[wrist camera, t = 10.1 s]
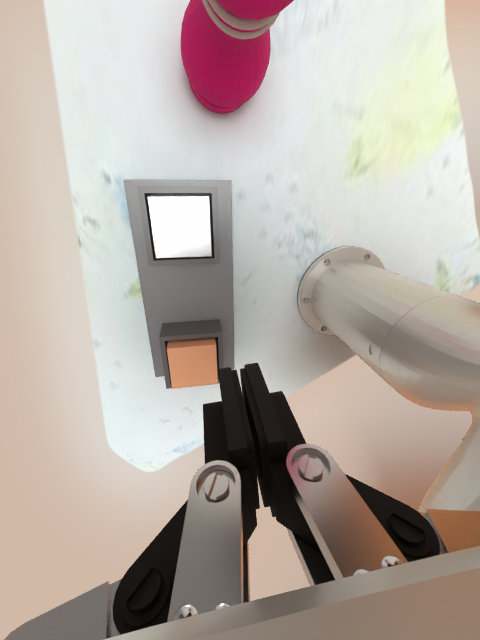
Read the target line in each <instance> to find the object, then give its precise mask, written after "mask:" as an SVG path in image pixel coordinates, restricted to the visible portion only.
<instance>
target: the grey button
mask: <svg viewBox="0 0 480 640" xmlns="http://www.w3.org/2000/svg"><path fill="white" fill-rule="evenodd" d="M148 202H149V210H150V217H151V225H152V232H153V240H154V247H155V255H156V258H175V257H203V256H212V254H211V233H210V212H209V197H148Z"/></svg>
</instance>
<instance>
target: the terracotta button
mask: <svg viewBox="0 0 480 640" xmlns="http://www.w3.org/2000/svg"><path fill="white" fill-rule="evenodd" d="M167 354H168V361H169V369H170V376H171V384H172V389H173V388H182V387H192V386H201V385H211V384H218V375H217V354H216V341H215V337H210V338H197V339H185V340H172V341H168V345H167Z"/></svg>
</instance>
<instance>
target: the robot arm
mask: <svg viewBox="0 0 480 640" xmlns="http://www.w3.org/2000/svg"><path fill="white" fill-rule="evenodd" d="M324 261H325V262H324ZM304 298H305V299H304ZM303 299H304V300H303ZM298 306H299V310H300V313H301V315H302V317H303V319H304V320H305V321H306V322H307V324H308V325H309V326H311V327H312V328H313V329H314V330H316V331H318V332H319V333H323V334H326V335H336V336H337V337H339V338H340V339H341V340H342V341H343V342H344V343H345V344H346V345H347V346H348V347H349V348H350V349H351V350H353V351H354V352H355V353H356V354H357V355H358V356H359V357H360V358H361V359H362V360H363V361H364V362H365V363H367V364H368V365H369V366H370V367H371V368H372V369H373V370H374V371H375V372H376V373H377V374H378V375H379V376H381V377H382V378H383V379H384V380H385V381H386V382H387V383H388V384H389V385H391V386H392V387H393V388H394V389H395V390H396V391H397V392H398V393H400V394H401V395H402V396H403V397H405V398H407V399H408V400H410V401H412V402H414V403H416V404H418V405H420V406H424V407H428V408H432V409H438V410H449V411H470V412H471V414H472V419H473V421H472V424H471V427H470V428H469V430H468V432H467V433H466V435H465V436H464V438H463V439H462V443H461V444H460V446H459V447H458V448H457V450H456V451H455V452H454V454H453V455H452V457H451V458H450V459H449V461H448V462H447V464H446V465H445V466H444V468H443V469H442V471H441V472H440V474H439V475H438V476H437V478H436V479H435V480H434V482H433V484H432V485H431V487H430V488H429V490H428V492H427V493H426V495H425V497H424V499H423V500H422V503H421V505H420V508H419V512H418V511H416V510H414V509H413V508H411V507H410V506H408V505H406V504H404V503H402V502H400V501H398V500H396V499H393V498H392V497H390V496H388V495H386V494H384V493H382V492H380V491H378V490H376V489H374V488H372V487H370V486H368V485H366V484H364V483H362V482H360V481H358V480H356V479H354V478H352V477H350V476H348V475H346V474H344V473H343V471H342V470H341V469H340V467H339V466H338V464H337V463H336V462H335V460H334V459H333V457H332V456H331V455H330V454H329V453H328V452H327V451H326V450H324V449H323V448H321V447H320V446H317V445H313V444H306V442H305V440H304V438H303V435H302V433H301V431H300V429H299V427H298V424H297V422H296V420H295V418H294V416H293V414H292V412H291V409H290V407H289V405H288V402H287V400H286V398H285V396H284V394H283V392H282V391H280V392H274V393H269V391H268V388H267V386H266V383H265V380H264V378H263V375H262V372H261V370H260V367H259V365H258V363H253V364H246V365H245V368H243V369H240V374H241V384H242V391H241V387H240V383H239V379H238V375H237V370H231V367H227V368H220V369H218V374H219V382H220V390H221V397H222V401H220V402H214V403H208V404H203V419H204V446H205V447H204V449H205V465H203V466H202V467H201V468H200V469H198V470H197V472H196V474H195V475H194V476H193V479H192V482H191V486H190V492H189V498H188V500H187V501H186V503H185V504H184V505H183V506H182V507H181V508H180V509H179V511H178V512H177V513H176V514H175V515H174V516H173V518H172V519H171V520H170V521H169V522H168V524H167V525H166V526H165V527H164V528H163V529H162V531H161V532H160V533H159V534H158V535H157V536H156V538H155V539H154V540H153V541H152V542H151V543H150V545H149V546H148V547H147V548H146V549H145V551H144V552H143V553H142V554H141V555H140V556H139V558H138V559H137V560H136V561H135V562H134V564H133V565H132V566H131V567H130V568H129V569H128V571H127V572H126V574H125V575H124V577H123V578H122V579H120V580H119V581H116V582H114V583H112V584H111V585H110V584H109V582H106V583H104V584H102V585H100V586H98V587H96V588H94V589H92V590H90V591H88V592H86V593H84V594H82V595H80V596H78V597H76V598H74V599H72V600H70V601H68V602H66V603H64V604H62V605H60V606H58V607H56V608H54V609H52V610H50V611H48V612H46V613H44V614H42V615H40V616H38V617H36V618H34V619H32V620H30V621H28V622H26V623H24V624H23V625H21V626H20V627H18V628H17V629H15V630H14V631H12V632H11V633H10V634H9V635H8V636H7V637H6V638H5V639H4V640H480V303H477V302H475V301H472V300H469V299H466V298H463V297H460V296H457V295H455V294H452V293H449V292H446V291H443V290H441V289H438V288H435V287H432V286H429V285H426V284H424V283H421V282H418V281H415V280H412V279H410V278H407V277H404V276H401V275H398V274H395V273H393V272H390V271H387V270H385V268H384V266H383V264H382V262H381V261H380V259H379V258H378V257H377V256H376V255H375V254H373V253H372V252H370V251H368V250H366V249H363V248H359V247H354V246H347V247H340V248H336V249H334V250H331V251H329V252H327V253H325V254H324V255H322V256H321V257H319V258H318V259H317V260H316V261H315V262H314V263H313V264H312V265H311V266H310V268H309V269H308V270H307V272H306V273H305V275H304V277H303V279H302V281H301V284H300V287H299V293H298ZM257 477H258V482H259V486H260V491H261V495H262V499H263V504H264V507H269V506H270V508H271V512H272V517H275V516H276V520H277V521H278V522H279V523H281V524H282V525H284V526H285V527H286V528H287V529H288V533H289V536H290V539H291V541H292V543H293V546H294V548H295V551H296V553H297V555H298V558H299V560H300V562H301V565H302V567H303V570H304V572H305V574H306V577H307V579H308V582H309V584H310V587H306V588H302V589H298V590H294V591H290V592H286V593H282V594H278V595H274V596H270V597H266V598H262V599H258V600H254V601H250V587H249V547H248V539H249V538H250V536H251V535H252V533H253V531H254V529H255V528H256V526H257V519H256V509H259V508H260V506H259V494H258V482H257Z"/></svg>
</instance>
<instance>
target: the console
mask: <svg viewBox="0 0 480 640" xmlns="http://www.w3.org/2000/svg"><path fill="white" fill-rule="evenodd" d="M124 186H125V192H126V198H127V204H128V210H129V216H130V223H131V229H132V235H133V241H134V247H135V253H136V259H137V266H138V272H139V278H140V284H141V290H142V296H143V303H144V309H145V315H146V321H147V327H148V333H149V339H150V346H151V352H152V358H153V364H154V370H155V376H156V377H160V376H165V382H166V389H168V388H172V384H171V376H170V369H169V361H168V354H167V345H168V341H172V340H185V339H197V338H210V337H215V341H216V354H217V375H218V383H220V382H219V374H218V369H220V368H227V367H231V369H234V321H233V259H232V196H231V180H124ZM148 197H209V212H210V233H211V254H212V256H203V257H175V258H156V255H155V247H154V240H153V232H152V225H151V217H150V210H149V202H148Z"/></svg>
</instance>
